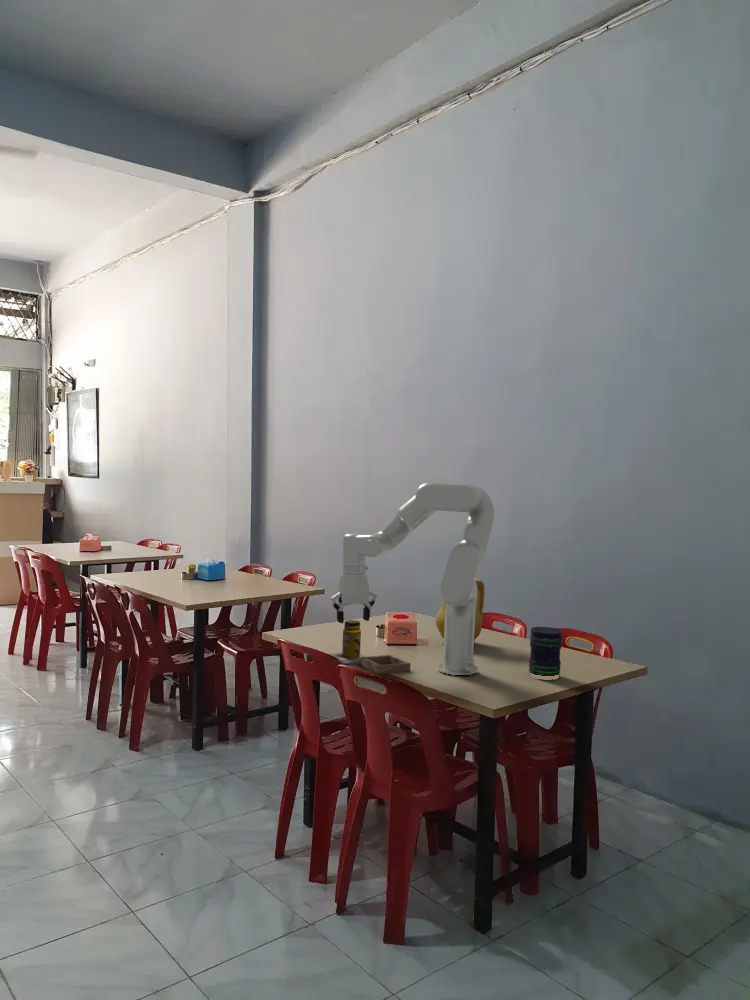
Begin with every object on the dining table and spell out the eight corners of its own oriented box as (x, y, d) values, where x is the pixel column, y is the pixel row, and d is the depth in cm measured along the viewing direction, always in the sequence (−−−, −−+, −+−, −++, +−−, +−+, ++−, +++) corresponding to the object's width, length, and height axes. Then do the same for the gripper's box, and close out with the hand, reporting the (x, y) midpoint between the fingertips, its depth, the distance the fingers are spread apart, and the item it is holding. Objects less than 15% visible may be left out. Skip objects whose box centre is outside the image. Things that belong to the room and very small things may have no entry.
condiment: (364, 658, 258) (366, 622, 258) (341, 660, 254) (343, 624, 253) (354, 653, 264) (356, 618, 264) (332, 655, 260) (333, 620, 260)
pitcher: (432, 638, 297) (434, 573, 296) (480, 640, 297) (483, 575, 297) (437, 648, 279) (440, 580, 279) (488, 650, 280) (491, 581, 279)
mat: (372, 661, 256) (372, 660, 256) (345, 664, 251) (345, 662, 251) (354, 653, 268) (354, 651, 268) (328, 655, 263) (328, 653, 263)
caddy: (410, 671, 246) (410, 663, 246) (379, 674, 241) (379, 666, 241) (390, 662, 257) (391, 654, 257) (360, 664, 251) (360, 657, 251)
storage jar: (556, 673, 251) (558, 627, 250) (563, 681, 241) (565, 633, 241) (525, 671, 251) (527, 626, 250) (531, 680, 241) (533, 632, 241)
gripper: (371, 568, 266) (370, 617, 266) (325, 570, 258) (325, 621, 258) (381, 570, 259) (381, 621, 260) (335, 573, 251) (335, 625, 251)
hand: (353, 621), depth 259 cm, fingers open, 9 cm apart
